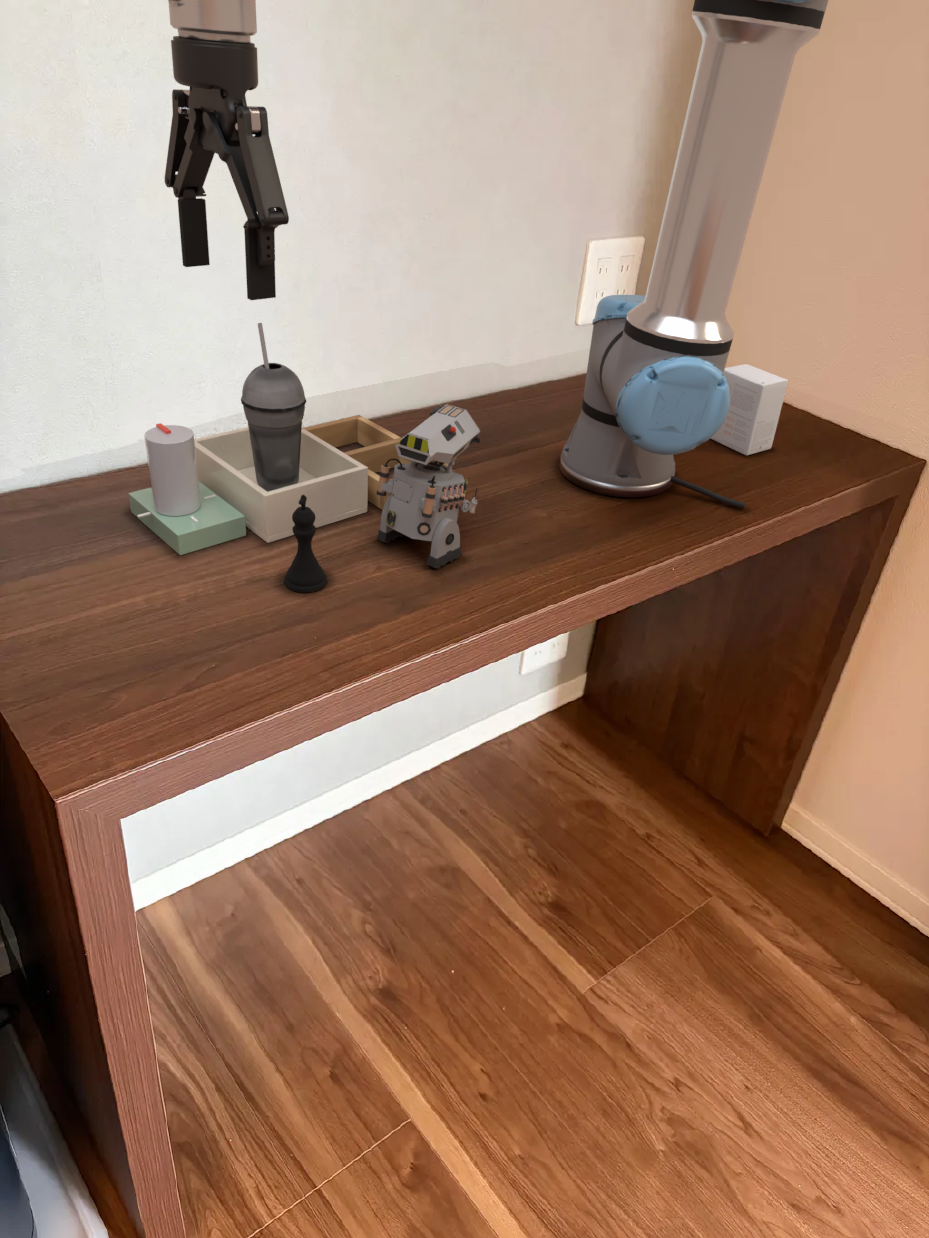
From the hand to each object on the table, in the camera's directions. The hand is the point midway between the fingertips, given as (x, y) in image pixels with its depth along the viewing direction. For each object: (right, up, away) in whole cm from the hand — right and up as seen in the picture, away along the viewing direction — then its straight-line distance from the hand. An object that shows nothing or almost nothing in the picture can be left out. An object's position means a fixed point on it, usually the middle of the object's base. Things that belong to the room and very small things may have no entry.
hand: (227, 281), depth 94 cm
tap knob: (-8, -22, +8) cm, 25 cm away
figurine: (+20, -26, +10) cm, 35 cm away
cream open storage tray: (+2, -20, +17) cm, 26 cm away
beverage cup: (+2, -20, +16) cm, 25 cm away
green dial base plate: (-7, -24, +10) cm, 27 cm away
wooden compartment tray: (+12, -16, +24) cm, 32 cm away
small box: (+65, -9, +42) cm, 77 cm away
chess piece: (+8, -31, +1) cm, 32 cm away
